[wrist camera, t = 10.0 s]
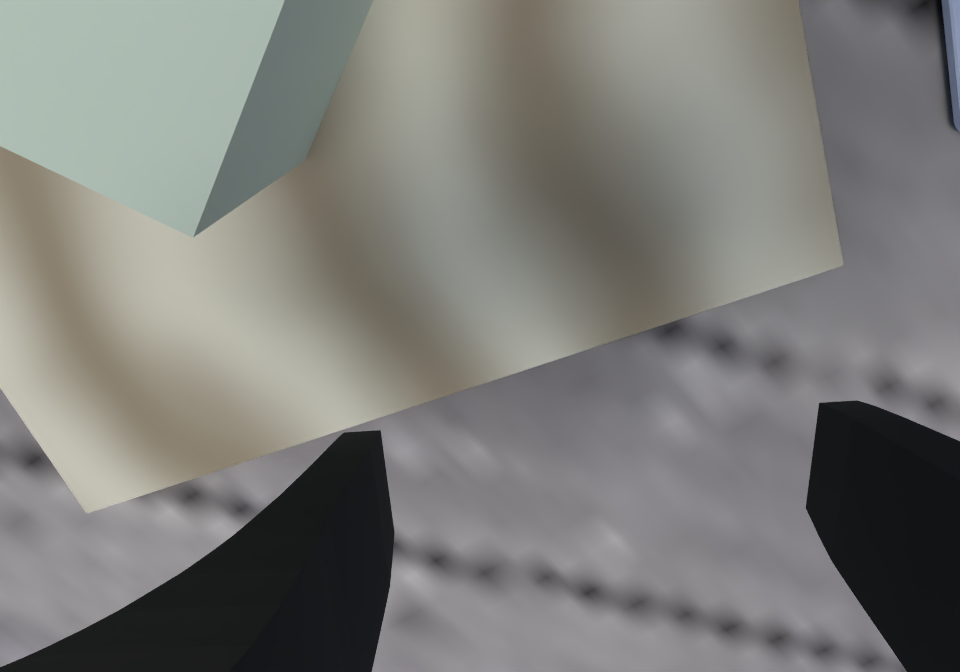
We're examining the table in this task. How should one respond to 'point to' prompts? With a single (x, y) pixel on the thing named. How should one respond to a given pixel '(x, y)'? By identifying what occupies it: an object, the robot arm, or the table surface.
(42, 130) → the carton
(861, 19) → the table surface
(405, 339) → the shelf board
